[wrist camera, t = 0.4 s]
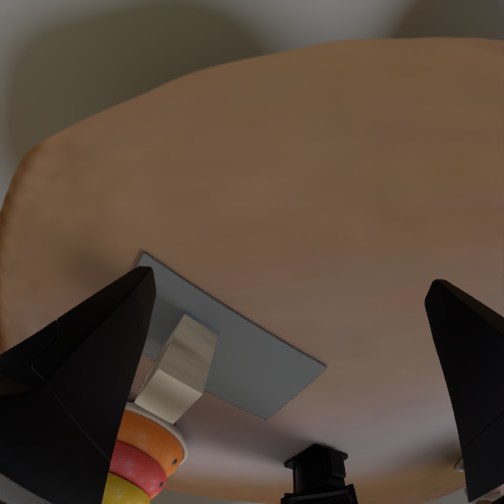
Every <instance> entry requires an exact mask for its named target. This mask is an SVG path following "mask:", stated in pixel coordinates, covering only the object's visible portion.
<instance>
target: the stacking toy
mask: <svg viewBox="0 0 504 504" xmlns="http://www.w3.org/2000/svg"><path fill="white" fill-rule="evenodd" d="M187 456H188V447H187V443H186V441H185V439H184V437H183V436H182V434H181V433H180V432H179V430H178V429H177V428H176V427H175V426H174V425H172V424H171V423H170V422H168V421H166V420H164V419H162V418H160V417H158V416H157V415H155V414H153V413H151V412H149V411H148V410H146V409H144V408H142V407H141V406H139V405H137V404H134V403H130V402H127V403H126V407H125V410H124V414H123V418H122V421H121V425H120V428H119V432H118V436H117V440H116V444H115V447H114V451H113V455H112V460H111V461H110V462H111V464H110V469H109V473H108V477H107V482H106V486H105V491H104V495H103V500H102V504H150V499H152V498H154V497H155V496H156V495H157V494H158V493H159V492H160V491H161V490H162V488H163V487H164V485H165V482H166V479H167V477H168V476H170V475H171V474H172V473H173V472H174V471H175V470H176V468H177V467H178V465H180V464H182V463H183V462H184V461H185V460H186V458H187Z"/></svg>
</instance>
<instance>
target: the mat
mask: <svg viewBox="0 0 504 504" xmlns="http://www.w3.org/2000/svg"><path fill="white" fill-rule="evenodd" d="M138 266H150V267H152V269H153V272H154V278H155V284H156V298H155V303H154V307H153V312H152V316H151V321H150V326H149V331H148V335H147V339H146V342H145V346H144V349H143V352H142V354H144V355H146V356H147V357H149V358H150V359H152V360H154V361H155V359H156V357H157V355H158V353H159V351H160V349H161V347H162V345H163V344H164V342H165V341H166V339H167V338H168V336H169V335H170V334H171V332H172V331H173V329H174V328H175V326H176V325H177V323H178V322H179V321H180V319H181V318H182V316H183V315H184V313H185V312H186V311H187V312H188V313H190V314H192V315H193V316H195V317H196V318H198V319H199V320H201V321H203V322H204V323H206V324H207V325H209V326H211V327H212V328H214V329H216V330H217V331H219V335H218V338H217V342H216V346H215V350H214V353H213V357H212V361H211V365H210V369H209V372H208V376H207V380H206V384H205V388H204V390H205V391H207V392H209V393H211V394H213V395H215V396H217V397H219V398H221V399H223V400H225V401H227V402H229V403H231V404H233V405H235V406H237V407H239V408H241V409H243V410H245V411H247V412H249V413H251V414H254V415H256V416H258V417H260V418H262V419H265V420H267V419H268V418H269V417H271V416H272V415H273V414H274V413H276V412H277V411H278V410H279V409H281V408H282V407H283V406H284V405H285V404H287V403H288V402H289V401H290V400H291V399H293V398H294V397H295V396H296V395H297V394H298V393H300V392H301V391H302V390H303V389H304V388H305V387H306V386H308V385H309V384H310V383H311V382H312V381H313V380H314V379H315V378H317V377H318V376H319V375H320V374H321V373H322V372H323V371H324V370H325V369H326V368H327V366H326V365H325V364H323V363H321V362H319V361H317V360H316V359H314V358H312V357H310V356H309V355H307V354H305V353H303V352H302V351H300V350H298V349H297V348H295V347H293V346H291V345H290V344H288V343H286V342H285V341H283V340H281V339H280V338H278V337H276V336H274V335H273V334H271V333H269V332H268V331H266V330H265V329H263V328H261V327H260V326H258V325H256V324H255V323H253V322H251V321H250V320H248V319H247V318H245V317H243V316H242V315H240V314H239V313H237V312H235V311H234V310H232V309H231V308H229V307H227V306H226V305H224V304H223V303H221V302H220V301H218V300H216V299H215V298H213V297H212V296H210V295H209V294H207V293H206V292H204V291H203V290H201V289H200V288H198V287H196V286H195V285H193V284H192V283H190V282H189V281H187V280H186V279H184V278H183V277H181V276H180V275H178V274H177V273H175V272H174V271H173V270H171V269H170V268H168V267H167V266H165V265H164V264H162V263H161V262H159V261H158V260H156V259H155V258H154V257H152V256H151V255H149V254H148V253H146V252H145V253H144V254H143V256H142V258H141V260H140V261H139V263H138V265H137V267H138Z"/></svg>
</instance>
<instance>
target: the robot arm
mask: <svg viewBox="0 0 504 504" xmlns="http://www.w3.org/2000/svg"><path fill="white" fill-rule="evenodd" d="M155 298H156V284H155V278H154V272H153V269H152V267H150V266H138V267H136V268H135V269H133V270H131V271H130V272H128V273H127V274H125V275H124V276H122V277H120V278H119V279H117V280H116V281H114V282H112V283H111V284H109V285H108V286H106V287H105V288H103V289H102V290H100V291H98V292H97V293H95V294H94V295H92V296H91V297H89V298H88V299H86V300H85V301H83V302H82V303H80V304H79V305H77V306H76V307H74V308H73V309H71V310H70V311H68V312H67V313H65V314H64V315H62V316H61V317H59V318H58V319H57V320H55V321H53V322H52V323H50V324H49V325H47V326H46V327H44V328H43V329H41V330H40V331H38V332H37V333H35V334H34V335H32V336H31V337H29V338H27V339H26V340H24V341H22V342H21V343H19V344H17V345H16V346H14V347H12V348H11V349H9V350H7V351H5V352H4V353H2V354H0V504H102V500H103V495H104V491H105V486H106V482H107V477H108V473H109V469H110V464H111V462H110V461H111V460H112V455H113V451H114V447H115V444H116V440H117V436H118V432H119V428H120V425H121V421H122V418H123V414H124V410H125V407H126V403H127V400H128V397H129V393H130V390H131V387H132V383H133V380H134V377H135V374H136V370H137V367H138V364H139V361H140V358H141V355H142V352H143V349H144V346H145V342H146V339H147V335H148V331H149V326H150V321H151V316H152V312H153V307H154V303H155ZM425 309H426V312H427V316H428V320H429V324H430V328H431V332H432V337H433V341H434V344H435V348H436V351H437V354H438V357H439V360H440V364H441V367H442V370H443V374H444V377H445V381H446V384H447V388H448V392H449V396H450V399H451V403H452V408H453V412H454V416H455V421H456V425H457V430H458V435H459V440H460V445H461V452H462V458H463V464H464V471H465V479H466V487H467V497H468V502H469V503H470V502H473V501H475V500H477V499H479V498H481V497H483V496H484V495H486V494H488V493H490V492H492V491H494V490H495V489H497V488H499V487H501V486H502V485H504V317H502V316H501V315H499V314H498V313H496V312H495V311H493V310H492V309H490V308H489V307H487V306H486V305H484V304H483V303H481V302H480V301H478V300H476V299H475V298H473V297H472V296H470V295H469V294H467V293H466V292H464V291H462V290H461V289H459V288H458V287H456V286H454V285H453V284H451V283H449V282H448V281H446V280H443V279H435V280H434V281H433V282H432V284H431V286H430V289H429V291H428V293H427V296H426V298H425ZM347 458H348V455H347V454H345V453H341V452H338V451H335V450H332V449H329V448H326V447H323V446H320V445H317V444H315V445H312V446H311V447H309V448H308V449H306V450H305V451H303V452H301V453H300V454H298V455H297V456H295V457H293V458H292V459H290V460H289V461H287V462H285V463H284V467H286V468H290V469H293V490H294V493H285V494H284V498H281V504H358V502H357V498H356V493H355V489H354V485H353V484H349V485H347V486H345V481H344V478H345V477H346V473H345V467H344V460H346V459H347ZM491 504H504V495H503V496H501V497H500V498H498V499H496V500H494V501H493V502H492V503H491Z"/></svg>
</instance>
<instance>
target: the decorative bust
mask: <svg viewBox="0 0 504 504" xmlns="http://www.w3.org/2000/svg"><path fill="white" fill-rule="evenodd" d="M455 470H456V471H460V472H462V471H464V464H463V458H462V459H460V460H459V461H458V463H457V464H456V466H455ZM502 488H503V485H502V486H501V487H499V488H497V489H495V490H494V491H492V492H490V493H488V494H486V495H484V496H483V497H481V498H479V499H477V500H475V501H473V502H471V503H472V504H491V503H492V502H493V501H494V500H496V499H498V498H500V497H501V496H503V495H502V494H501V491H502ZM465 493H466V495H467V487H466V488H465ZM467 498H468V497H467Z"/></svg>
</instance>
